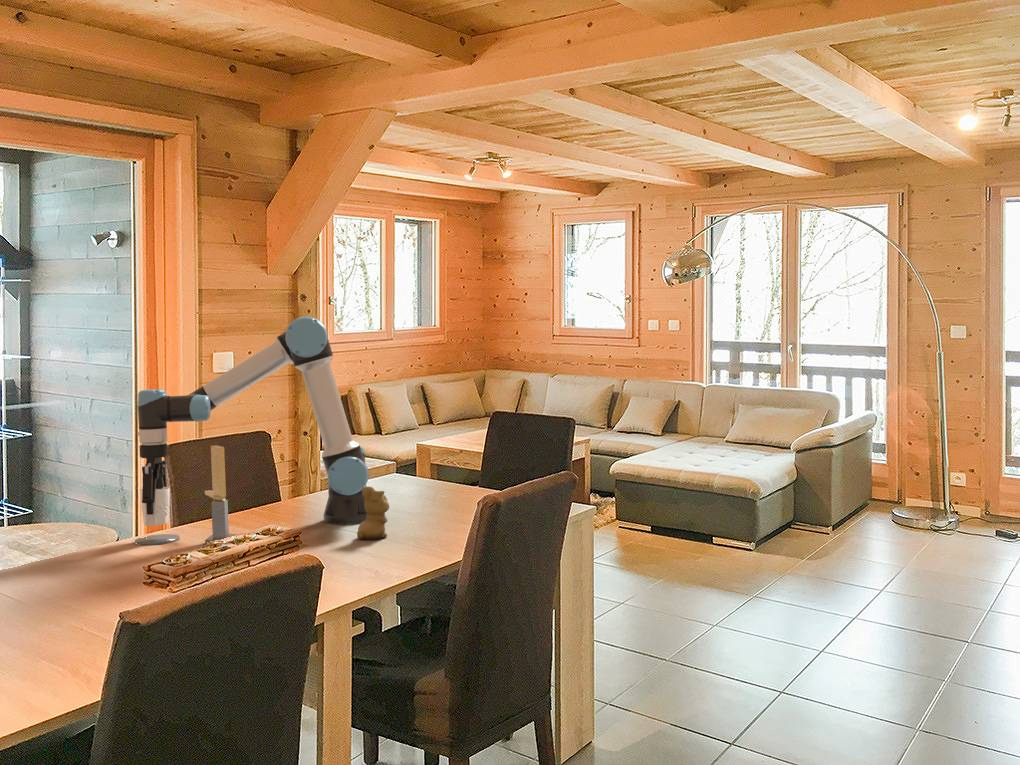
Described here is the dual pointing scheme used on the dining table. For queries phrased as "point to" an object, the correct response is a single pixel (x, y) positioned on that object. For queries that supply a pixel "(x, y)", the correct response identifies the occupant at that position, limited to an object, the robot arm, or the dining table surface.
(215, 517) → the post
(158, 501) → the white cup
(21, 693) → the dining table surface
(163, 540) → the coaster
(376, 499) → the figurine
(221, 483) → the tan l-shaped bracket
